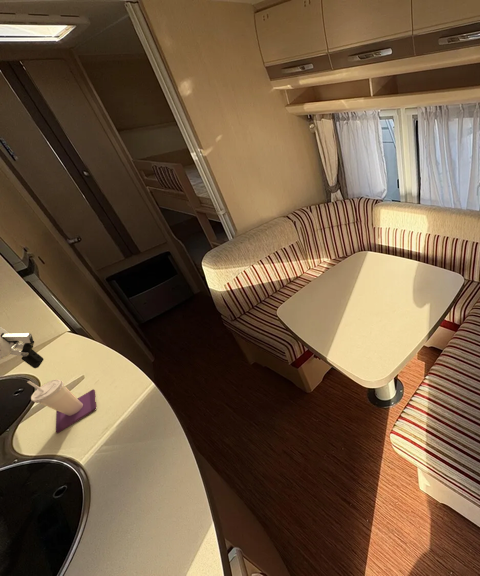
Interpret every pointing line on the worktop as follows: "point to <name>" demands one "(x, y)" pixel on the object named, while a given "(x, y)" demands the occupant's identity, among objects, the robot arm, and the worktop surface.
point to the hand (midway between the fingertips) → (16, 371)
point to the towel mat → (88, 407)
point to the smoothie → (56, 397)
